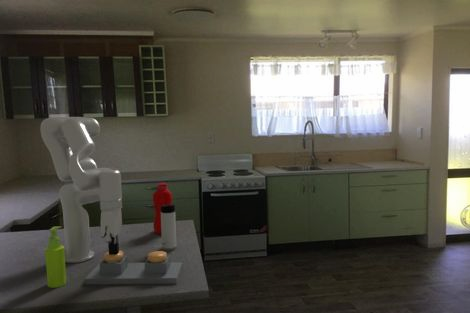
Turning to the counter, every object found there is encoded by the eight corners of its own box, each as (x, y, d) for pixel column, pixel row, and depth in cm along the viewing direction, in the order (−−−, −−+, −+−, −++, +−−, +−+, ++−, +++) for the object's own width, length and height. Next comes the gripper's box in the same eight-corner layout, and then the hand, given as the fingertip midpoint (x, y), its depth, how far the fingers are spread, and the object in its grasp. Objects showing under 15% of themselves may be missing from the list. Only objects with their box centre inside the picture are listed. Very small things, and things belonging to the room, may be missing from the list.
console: (84, 284, 127) (84, 267, 127) (99, 268, 141) (99, 253, 141) (176, 283, 127) (176, 266, 127) (182, 267, 141) (182, 252, 140)
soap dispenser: (70, 278, 132) (67, 224, 130) (61, 287, 125) (58, 230, 123) (53, 279, 132) (50, 225, 130) (44, 288, 125) (40, 231, 123)
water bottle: (149, 230, 188) (147, 182, 185) (170, 228, 192) (168, 181, 190) (153, 236, 179) (151, 185, 177) (175, 232, 184) (173, 183, 182)
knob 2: (146, 273, 131) (145, 257, 130) (150, 266, 137) (150, 251, 137) (165, 273, 131) (164, 257, 130) (168, 265, 137) (168, 250, 137)
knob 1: (101, 272, 131) (100, 257, 130) (108, 265, 137) (107, 250, 137) (120, 272, 131) (119, 257, 130) (126, 265, 137) (125, 250, 137)
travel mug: (162, 251, 158) (161, 206, 156) (161, 246, 164) (160, 203, 162) (177, 250, 160) (175, 205, 158) (175, 245, 166) (174, 202, 164)
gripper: (108, 200, 139) (110, 247, 141) (92, 209, 124) (95, 261, 126) (127, 199, 139) (130, 246, 141) (114, 208, 124) (117, 261, 126)
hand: (113, 253), depth 133 cm, fingers closed
